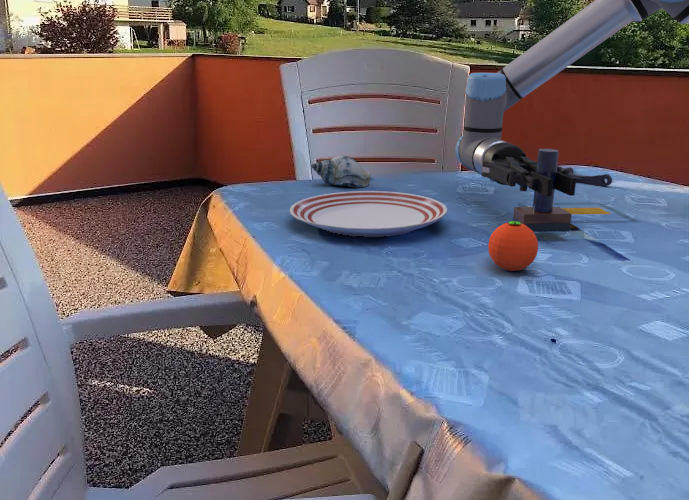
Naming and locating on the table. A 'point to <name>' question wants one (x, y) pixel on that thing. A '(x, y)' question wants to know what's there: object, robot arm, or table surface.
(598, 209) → the yellow carpenter square
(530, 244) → the clementine
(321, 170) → the seashell
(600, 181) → the bracket
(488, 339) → the table surface
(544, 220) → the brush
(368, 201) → the dinner plate
